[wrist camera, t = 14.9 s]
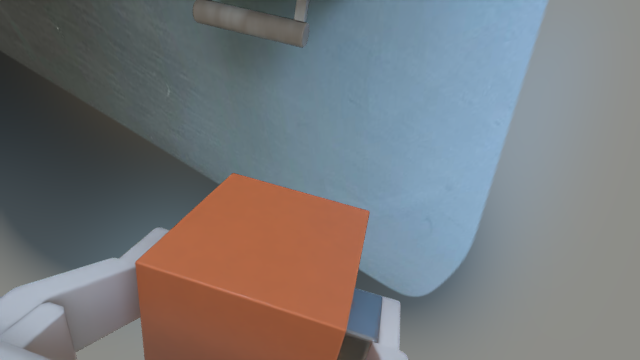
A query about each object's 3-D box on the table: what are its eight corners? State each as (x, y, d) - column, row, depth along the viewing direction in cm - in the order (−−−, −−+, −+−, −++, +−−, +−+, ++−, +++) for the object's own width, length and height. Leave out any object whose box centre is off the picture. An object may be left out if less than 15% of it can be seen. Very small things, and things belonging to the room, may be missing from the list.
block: (370, 210, 10) (346, 330, 6) (339, 311, 13) (308, 449, 9) (232, 172, 11) (133, 262, 7) (225, 275, 13) (147, 388, 9)
